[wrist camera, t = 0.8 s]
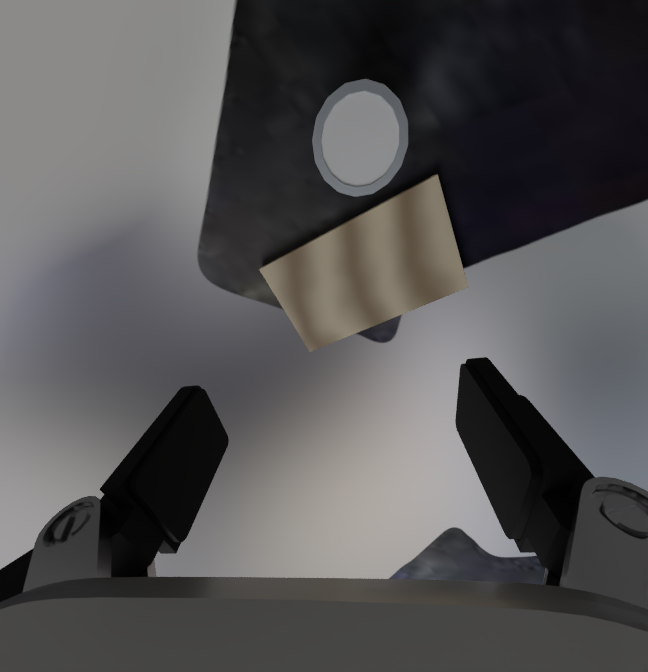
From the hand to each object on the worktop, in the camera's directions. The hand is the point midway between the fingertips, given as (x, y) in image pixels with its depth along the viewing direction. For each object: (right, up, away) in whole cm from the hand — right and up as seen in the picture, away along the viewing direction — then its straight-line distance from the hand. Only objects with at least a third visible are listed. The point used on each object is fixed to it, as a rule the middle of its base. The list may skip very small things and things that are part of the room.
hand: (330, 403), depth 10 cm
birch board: (+4, +9, +21) cm, 23 cm away
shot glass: (+3, +20, +16) cm, 25 cm away
